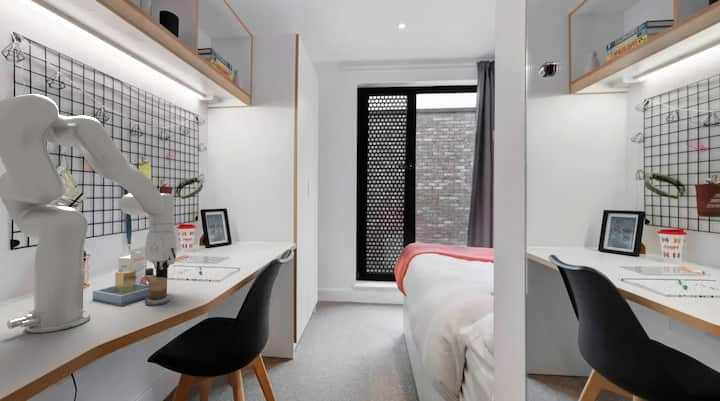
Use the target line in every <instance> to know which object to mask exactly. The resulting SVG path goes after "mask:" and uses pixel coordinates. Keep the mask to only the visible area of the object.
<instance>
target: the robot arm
mask: <svg viewBox="0 0 720 401" xmlns="http://www.w3.org/2000/svg"><path fill="white" fill-rule="evenodd" d="M46 142H48V143H51V144H54V145H55V144H56V145H60V146H64V147H69V148H70V147H71V148H72V147H73V148H74V147H75V148H77V150H78V151H79V153H80V154H81V155H82V156H83V158H84V159H85V160H86V162H87V163H88V164H89V165H90V167H91V168H92V169H93V171H94V172H95V173H96V174H97V175H98V176H100V177H101V178H104V179H106V180H108V181H110V182H112V183H115V184H117V185H118V186H121V187H122V188H123V189H124V190H125V191H127V192H128V193H126V194H124V195H123V196H122V197H121V198H120V200H119V201H118V206H119V209H120V210H121V211H122V212H123V213H124V214H127V215H129V216H138V217H139V216H143V217H148V232H147V234H146V239H145V247H146V248H145V258H146V259H147V261H149V262H150V263H151V264H153V266H154V269H155V276H156V277H158V278H159V277H165V278H167V279H168V277H169V276H168V275H169V273H168V269H169V268H170V266H171V265H175V260H176V259H177V252H178V251H177V250H178V249H177V239H176V235H175V197H174V195H173V194H171V193H164V192H163V193H161V192H160V191H159V189H158V188H157V186H156V185H155V183H154V181H152V180H151V179H150V177H149V176H148V175H146V174H145V173H144V172H142V171H141V170H140V169H139V168H137V167H136V166H135V165H133V164H132V163H131V162H129V161H128V159H127V158H126V157H125V156H124V154H123V153H122V151H121V149H120V148H119V146H117V144H116V143H115V141H114V139H112V136H111V135H110V134H109V133H108V131H107V130H106V128H105V127H104V126H103V124H102V123H101V122H100V121H99V120H98V119H96V118H95V117H92V116H88V115H75V116H66V115H61V114H60V110H59V108H58V105H57V103H55V102H54V101H53V100H52V99H51V98H49V97H47V96H44V95H41V94H35V93H30V94H23V95H17V96H13V97H9V98H7V97H6V98H5V99H2V100H0V160H1V163H2V165H3V167H4V169H5V170H6V171H5V172H3V173H2V174H1V175H0V200H1V202H2V203H3V205H4V207H5V208H6V210H7V212H8V214H9V215H10V217H11V219H12V221H13V223H14V224H15V226H16V227H17V229H18V230H19V231H20V232H21V233H22V234H23V235H25V237H28V238H31V239H33V240H38V243H37V246H36V250H35V254H34V264H33V265H34V288H33V290H34V292H33V294H34V298H33V299H34V303H33V304H34V305H33V306H34V307H33V308H34V309H32V310H29V311H28V314H26V315H24V317H20V318H16V319H12V320H8V321H7V322H6V323H7V324H6V327H7V328H8V329H9V330H11V329H15V328H18V327H21V328H24V329H25V331H26V332H27V333H34V334H35V333H37V334H38V333H40V334H41V333H49V332H57V331H63V330H66V329H69V328H73V327H76V326H77V327H78V326H79V325H81V324H84V323H86V322H87V321H89V320H90V319H91V313H90V311H86V310H84V263H85V262H84V256H85V255H84V253H85V242H86V238H87V235H88V229H89V228H88V227H89V224H88V219H87V217H86V216H85V215H84V214H83V213H82V212H81V211H80V210H78V209H77V208H74V207H70V206H65V205H64V206H63V205H56V203H55V202H57V201H59V200H61V199H62V198H63V196H64V195H65V191H66V187H65V184H64V182H63V179H62V177H61V175H60V173H59V171H58V169H57V167H56V166H55V163H54V161H53V159H52V157H51V155H50V153H49V150H48V147H47V143H46Z"/></svg>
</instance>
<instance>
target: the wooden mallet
mask: <svg viewBox="0 0 720 401" xmlns="http://www.w3.org/2000/svg"><path fill="white" fill-rule="evenodd" d="M145 280H146V283H148V285H149V299H160V298H164V297H166V296H167V294H168V278H165V277H159V278H158V277H156V274H154V268H153V267H148V268H147V269H145Z"/></svg>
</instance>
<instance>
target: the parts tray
mask: <svg viewBox="0 0 720 401" xmlns="http://www.w3.org/2000/svg"><path fill="white" fill-rule="evenodd" d="M147 297H149V284H137V283H136V287H135V292H132V293H128V294H125V295H118V294H115V285H113V286H108V287H103V288H99V289H96V290H93V291H92V301H95V302H99V303H100V302H101V303H105V304H109V305H114V306H120V307H122V306H124V305H128V304H131V303H134V302H135V303H136V302H137V301H141V300H145V298H147Z"/></svg>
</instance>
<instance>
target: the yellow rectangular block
mask: <svg viewBox="0 0 720 401" xmlns="http://www.w3.org/2000/svg"><path fill="white" fill-rule="evenodd" d="M114 276H115V278H114V286H115V294H118V295H125V294H128V293H132V292H135V287H136V271H131V270H125V271H120V272H118V271H116V272H115V273H114Z"/></svg>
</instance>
